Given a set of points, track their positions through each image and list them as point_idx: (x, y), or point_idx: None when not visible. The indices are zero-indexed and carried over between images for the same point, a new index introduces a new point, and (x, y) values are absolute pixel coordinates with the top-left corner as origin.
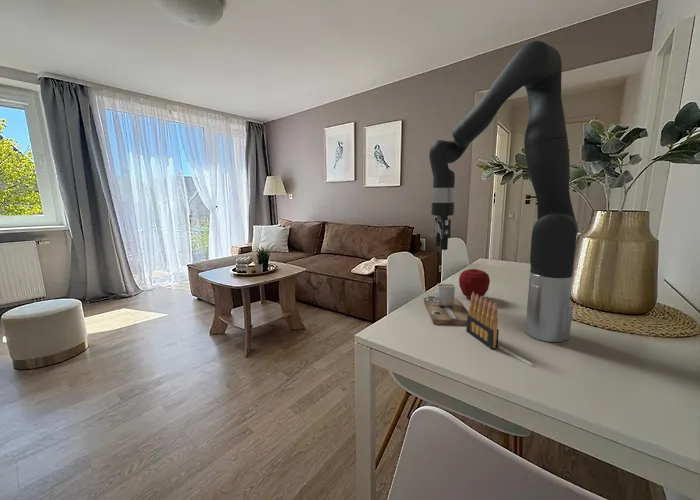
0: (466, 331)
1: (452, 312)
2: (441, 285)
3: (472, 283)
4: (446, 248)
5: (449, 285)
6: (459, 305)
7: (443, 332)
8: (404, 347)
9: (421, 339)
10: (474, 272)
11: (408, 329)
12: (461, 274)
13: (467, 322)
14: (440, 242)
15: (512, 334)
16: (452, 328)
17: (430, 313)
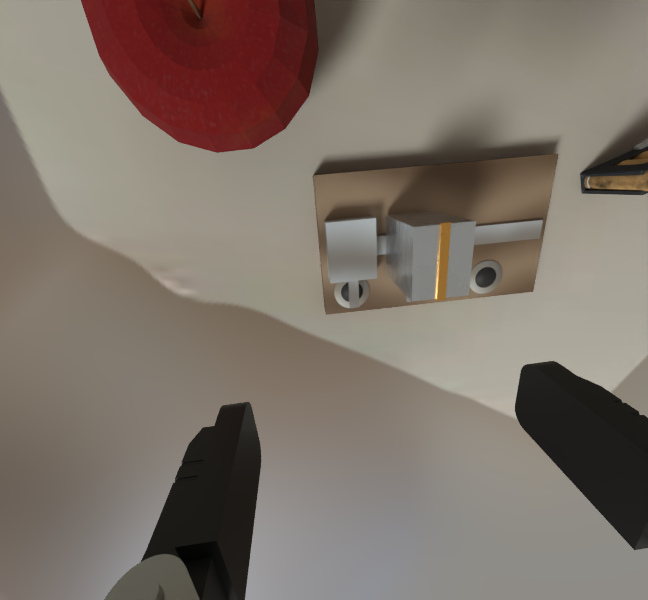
0: (583, 192)
1: (480, 223)
2: (445, 283)
3: (312, 77)
4: (559, 375)
5: (448, 245)
6: (406, 183)
7: (578, 262)
8: (633, 351)
9: (605, 317)
10: (197, 9)
11: (547, 347)
12: (218, 132)
13: (615, 193)
14: (244, 450)
15: (631, 26)
16: (556, 233)
17: (479, 296)
